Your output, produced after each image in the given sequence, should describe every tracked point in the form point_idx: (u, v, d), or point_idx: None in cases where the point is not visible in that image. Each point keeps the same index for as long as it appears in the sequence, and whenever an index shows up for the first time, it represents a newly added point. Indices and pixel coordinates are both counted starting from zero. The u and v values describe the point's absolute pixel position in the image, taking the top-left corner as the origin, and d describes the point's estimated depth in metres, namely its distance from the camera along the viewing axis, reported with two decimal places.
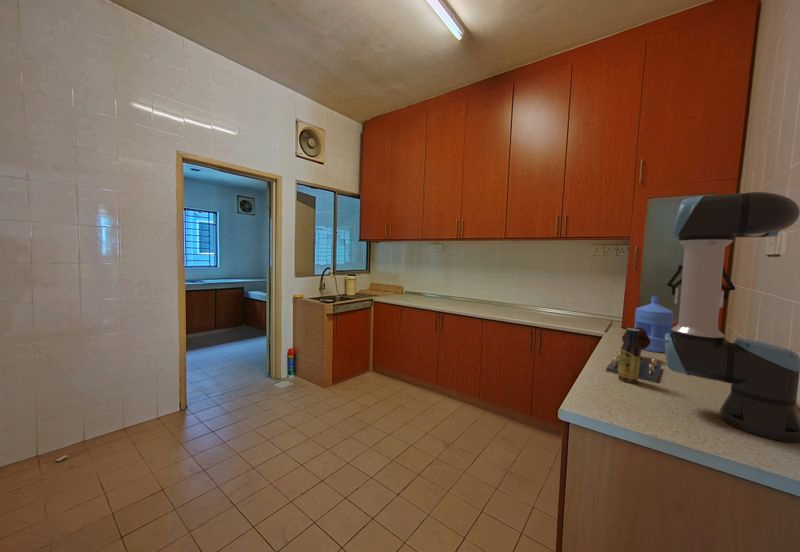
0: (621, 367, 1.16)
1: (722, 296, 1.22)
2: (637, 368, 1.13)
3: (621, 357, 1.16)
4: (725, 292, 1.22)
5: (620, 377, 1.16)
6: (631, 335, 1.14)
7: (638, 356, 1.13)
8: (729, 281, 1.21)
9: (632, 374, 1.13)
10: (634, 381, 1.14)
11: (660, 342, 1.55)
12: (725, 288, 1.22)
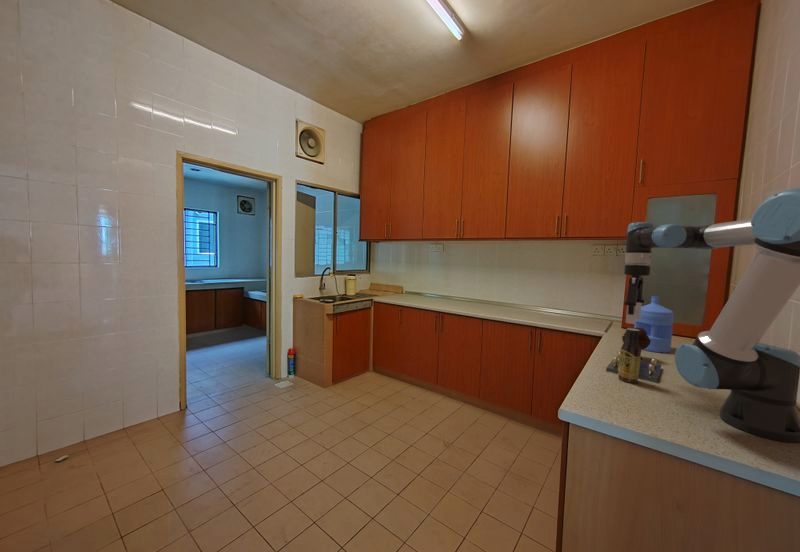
0: (621, 367, 1.16)
1: None
2: (637, 368, 1.13)
3: (621, 357, 1.16)
4: None
5: (620, 377, 1.16)
6: (631, 335, 1.14)
7: (638, 356, 1.13)
8: None
9: (632, 374, 1.13)
10: (634, 381, 1.14)
11: (660, 342, 1.55)
12: None
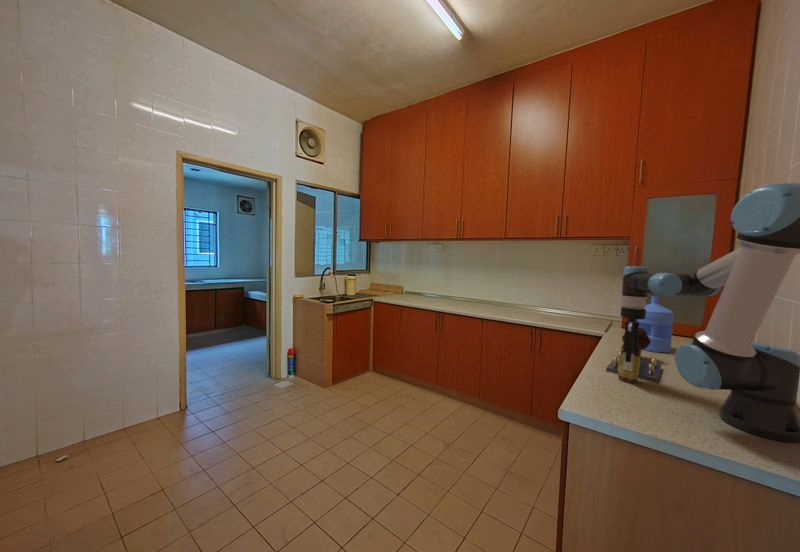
0: (621, 367, 1.16)
1: (624, 357, 1.14)
2: (637, 368, 1.13)
3: (621, 357, 1.16)
4: (626, 354, 1.13)
5: (620, 377, 1.16)
6: None
7: (638, 355, 1.13)
8: (624, 342, 1.12)
9: (632, 374, 1.13)
10: (634, 381, 1.14)
11: (660, 342, 1.55)
12: None
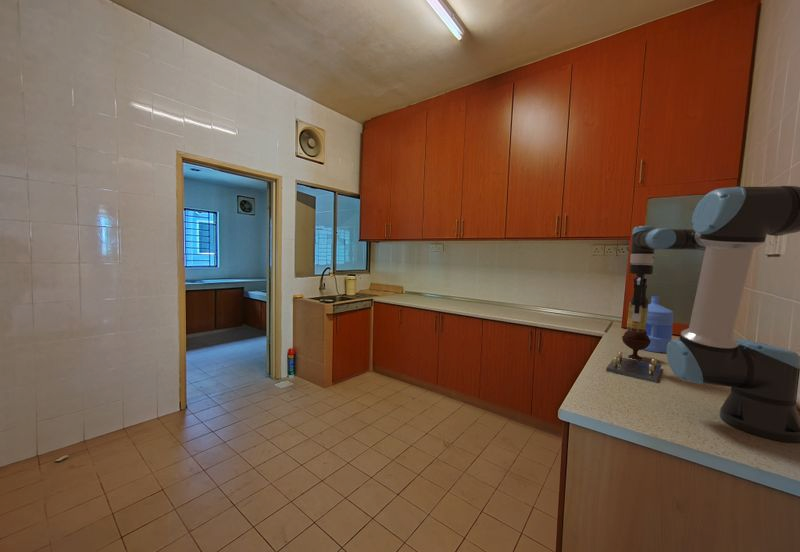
0: (630, 319, 1.27)
1: None
2: (645, 319, 1.24)
3: (630, 310, 1.27)
4: (635, 306, 1.24)
5: (629, 328, 1.28)
6: None
7: (645, 307, 1.24)
8: None
9: (640, 325, 1.24)
10: (642, 331, 1.25)
11: (660, 342, 1.55)
12: None
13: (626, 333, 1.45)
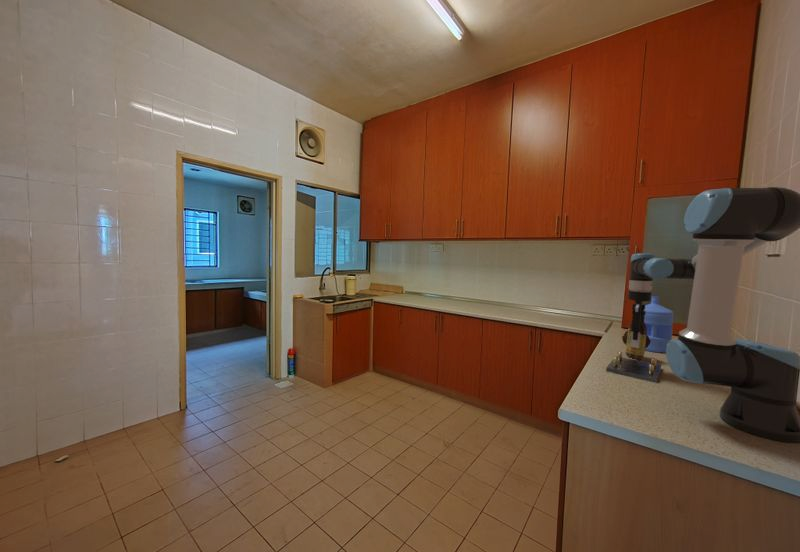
0: (628, 345, 1.28)
1: (631, 336, 1.26)
2: (643, 345, 1.25)
3: (628, 336, 1.28)
4: None
5: (627, 354, 1.29)
6: None
7: (644, 334, 1.25)
8: (632, 321, 1.24)
9: (638, 351, 1.26)
10: (640, 357, 1.26)
11: (660, 342, 1.55)
12: None
13: (626, 333, 1.45)
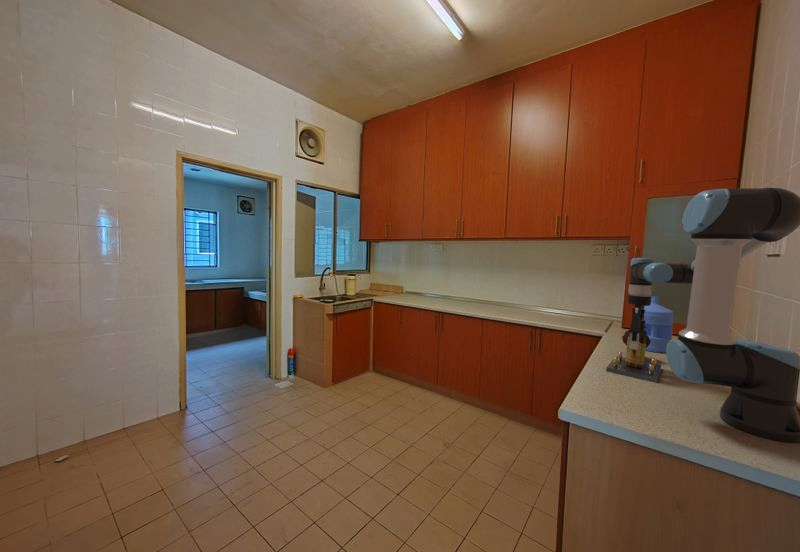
0: (628, 354, 1.28)
1: (630, 337, 1.24)
2: (643, 354, 1.25)
3: (628, 344, 1.28)
4: None
5: (627, 363, 1.29)
6: None
7: (643, 343, 1.25)
8: None
9: (638, 360, 1.26)
10: (640, 366, 1.26)
11: (660, 342, 1.55)
12: None
13: (626, 333, 1.45)
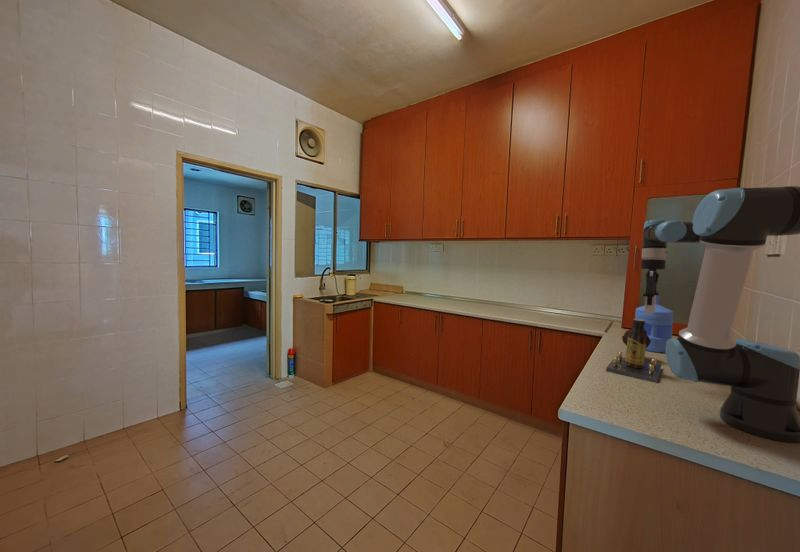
0: (628, 354, 1.28)
1: (645, 301, 1.20)
2: (643, 355, 1.25)
3: (628, 345, 1.28)
4: None
5: (627, 363, 1.29)
6: (637, 325, 1.26)
7: (643, 343, 1.25)
8: (646, 286, 1.18)
9: (638, 360, 1.26)
10: (640, 366, 1.26)
11: (660, 342, 1.55)
12: None
13: (626, 333, 1.45)
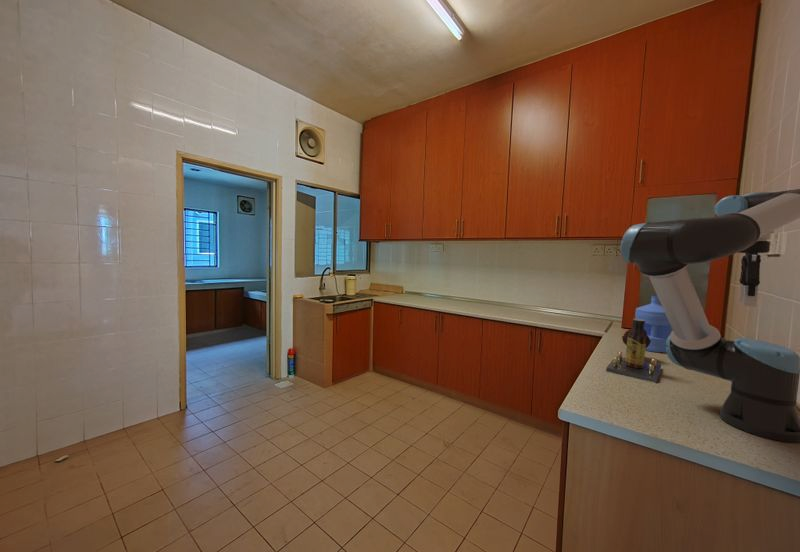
0: (628, 354, 1.28)
1: (744, 292, 0.98)
2: (643, 354, 1.25)
3: (628, 345, 1.28)
4: (748, 287, 0.97)
5: (627, 363, 1.29)
6: (637, 325, 1.26)
7: (643, 343, 1.25)
8: (747, 273, 0.97)
9: (638, 360, 1.26)
10: (640, 366, 1.26)
11: (660, 342, 1.55)
12: (746, 282, 0.98)
13: (626, 333, 1.45)
